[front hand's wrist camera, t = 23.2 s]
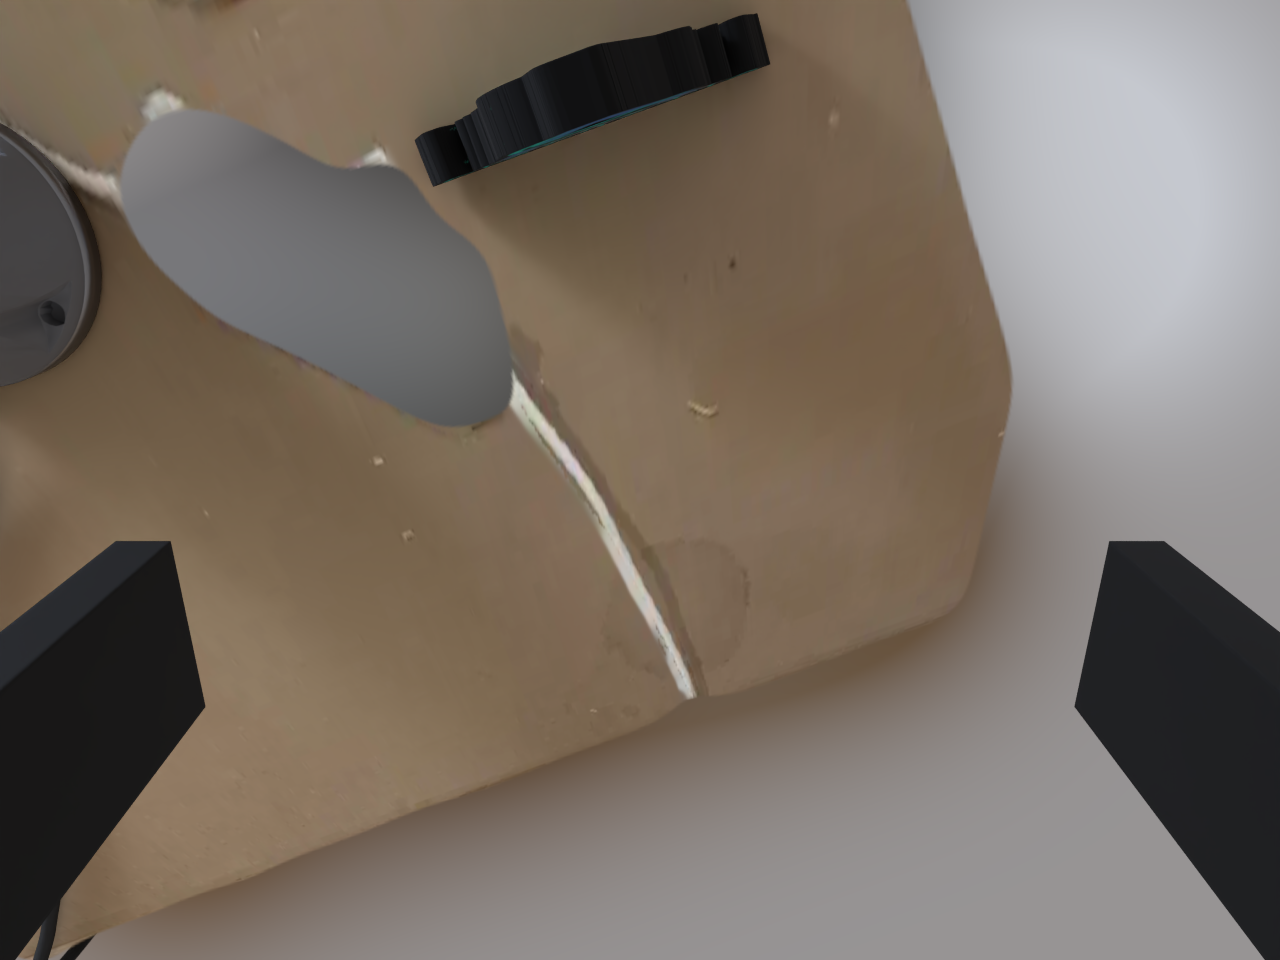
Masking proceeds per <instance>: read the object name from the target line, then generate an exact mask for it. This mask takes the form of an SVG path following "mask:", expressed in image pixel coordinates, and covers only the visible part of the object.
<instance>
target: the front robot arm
mask: <svg viewBox="0 0 1280 960" xmlns="http://www.w3.org/2000/svg"><path fill="white" fill-rule="evenodd" d="M101 279H102V276H101V262H100V256H99V250H98V246H97V242H96V238H95V235H94V232H93V229H92V227H91V224H90V221H89V219H88V217H87V215H86V212H85V210H84V208H83V206H82V205H81V203H80V201H79V199H78V197H77V196H76V194H75V193H74V191H73V190H72V188H71V187H70V185H69V184H68V182H67V181H66V180H65V178H64V177H63V176H62V175H61V173H60V172H59V171H58V170H57V168H56V167H55V166H54V165H53V164H52V163H51V162H50V161H49V160H48V159H47V158H46V157H45V156H44V155H43V154H42V153H41V152H40V151H39V150H38V149H37V148H36V147H34V146H33V145H32V144H31V143H29V142H28V141H27V140H26V139H24V138H23V137H22V136H20V135H19V134H17V133H16V132H14V131H13V130H11V129H10V128H8V127H6V126H4V125H3V124H1V123H0V386H6V385H10V384H14V383H17V382H20V381H23V380H25V379H28V378H30V377H33V376H35V375H38V374H40V373H43V372H45V371H47V370H49V369H51V368H53V367H55V366H56V365H58V364H59V363H61V362H62V361H64V360H65V359H66V358H67V357H68V356H69V355H71V354H72V353H73V352H74V351H75V350H76V348H77V347H78V346H79V345H80V344H81V342H82V341H83V340H84V338H85V337H86V335H87V333H88V332H89V330H90V328H91V326H92V324H93V321H94V318H95V316H96V313H97V309H98V305H99V301H100V294H101ZM204 708H205V702H204V697H203V692H202V688H201V683H200V678H199V674H198V669H197V664H196V659H195V655H194V650H193V645H192V640H191V636H190V631H189V626H188V621H187V617H186V612H185V607H184V602H183V598H182V593H181V588H180V583H179V579H178V574H177V569H176V564H175V560H174V555H173V550H172V545H171V541H116V542H114V543H113V544H112V545H110V546H109V547H108V548H107V549H105V550H104V551H103V552H102V553H100V554H99V555H98V556H96V557H95V558H94V559H93V560H91V561H90V562H89V563H88V564H86V565H85V566H84V567H82V568H81V569H80V570H79V571H77V572H76V573H75V574H74V575H72V576H71V577H70V578H69V579H67V580H66V581H65V582H63V583H62V584H61V585H60V586H58V587H57V588H56V589H55V590H53V591H52V592H51V593H49V594H48V595H47V596H46V597H44V598H43V599H42V600H41V601H39V602H38V603H37V604H35V605H34V606H33V607H32V608H30V609H29V610H28V611H27V612H25V613H24V614H23V615H22V616H20V617H19V618H18V619H16V620H15V621H14V622H13V623H11V624H10V625H9V626H8V627H6V628H5V629H4V630H2V631H1V632H0V960H15V959H16V958H17V957H18V955H19V954H20V953H21V951H22V950H23V949H24V947H25V946H26V945H27V943H28V942H29V941H30V939H31V938H32V937H33V935H34V934H35V933H36V931H37V930H38V929H39V927H40V926H41V925H42V926H41V933H40V937H39V941H38V945H37V948H36V952H35V955H34V958H33V960H48V958H49V955H50V951H51V948H52V945H53V941H54V937H55V931H56V925H57V918H58V912H59V906H60V900H61V898H62V897H63V896H64V894H65V893H66V892H67V890H68V889H69V888H70V886H71V885H72V884H73V882H74V881H75V880H76V878H77V877H78V876H79V874H80V873H81V872H82V870H83V869H84V868H85V866H86V865H87V864H88V862H89V861H90V860H91V858H92V857H93V856H94V854H95V853H96V852H97V850H98V849H99V848H100V846H101V845H102V844H103V842H104V841H105V840H106V838H107V837H108V836H109V834H110V833H111V832H112V830H113V829H114V828H115V826H116V825H117V824H118V822H119V821H120V820H121V818H122V817H123V816H124V814H125V813H126V812H127V810H128V809H129V808H130V806H131V805H132V804H133V802H134V801H135V800H136V798H137V797H138V796H139V794H140V793H141V792H142V790H143V789H144V788H145V786H146V785H147V784H148V782H149V781H150V780H151V778H152V777H153V776H154V774H155V773H156V772H157V770H158V769H159V768H160V766H161V765H162V764H163V763H164V761H165V760H166V759H167V757H168V756H169V755H170V753H171V752H172V751H173V749H174V748H175V747H176V745H177V744H178V743H179V741H180V740H181V739H182V737H183V736H184V735H185V733H186V732H187V731H188V729H189V728H190V727H191V725H192V724H193V723H194V721H195V720H196V719H197V717H198V716H199V715H200V713H201V712H202V711H203V709H204ZM1075 708H1076V709H1077V711H1078V712H1079V713H1080V715H1081V716H1082V717H1083V719H1084V720H1085V721H1086V723H1087V724H1088V725H1089V727H1090V728H1091V729H1092V731H1093V732H1094V733H1095V735H1096V736H1097V737H1098V739H1099V740H1100V741H1101V742H1102V744H1103V745H1104V747H1105V748H1106V749H1107V751H1108V752H1109V753H1110V755H1111V756H1112V757H1113V759H1114V760H1115V761H1116V762H1117V764H1118V765H1119V766H1120V768H1121V769H1122V770H1123V772H1124V773H1125V774H1126V776H1127V777H1128V778H1129V780H1130V781H1131V782H1132V784H1133V785H1134V786H1135V788H1136V789H1137V790H1138V792H1139V793H1140V794H1141V796H1142V797H1143V798H1144V800H1145V801H1146V802H1147V804H1148V805H1149V806H1150V808H1151V809H1152V810H1153V812H1154V813H1155V814H1156V816H1157V817H1158V818H1159V820H1160V821H1161V822H1162V824H1163V825H1164V826H1165V828H1166V829H1167V830H1168V832H1169V833H1170V834H1171V836H1172V837H1173V838H1174V840H1175V841H1176V842H1177V844H1178V845H1179V846H1180V848H1181V849H1182V850H1183V852H1184V853H1185V854H1186V856H1187V857H1188V858H1189V860H1190V861H1191V862H1192V864H1193V865H1194V866H1195V868H1196V869H1197V870H1198V872H1199V873H1200V874H1201V876H1202V877H1203V878H1204V880H1205V881H1206V882H1207V884H1208V885H1209V886H1210V887H1211V889H1212V890H1213V892H1214V893H1215V894H1216V896H1217V897H1218V898H1219V900H1220V901H1221V902H1222V904H1223V905H1224V906H1225V907H1226V909H1227V910H1228V911H1229V913H1230V914H1231V915H1232V917H1233V918H1234V919H1235V921H1236V922H1237V923H1238V925H1239V926H1240V927H1241V929H1242V930H1243V931H1244V933H1245V934H1246V935H1247V937H1248V938H1249V939H1250V941H1251V942H1252V943H1253V945H1254V946H1255V947H1256V949H1257V950H1258V951H1259V953H1260V954H1261V955H1262V957H1263V958H1264V959H1265V960H1280V632H1279V631H1278V630H1276V629H1275V628H1274V627H1272V626H1271V625H1270V624H1269V623H1267V622H1266V621H1265V620H1264V619H1262V618H1261V617H1260V616H1258V615H1257V614H1256V613H1255V612H1253V611H1252V610H1251V609H1250V608H1248V607H1247V606H1246V605H1244V604H1243V603H1242V602H1241V601H1239V600H1238V599H1237V598H1236V597H1234V596H1233V595H1232V594H1231V593H1229V592H1228V591H1227V590H1225V589H1224V588H1223V587H1222V586H1220V585H1219V584H1218V583H1217V582H1215V581H1214V580H1213V579H1211V578H1210V577H1209V576H1208V575H1206V574H1205V573H1204V572H1203V571H1201V570H1200V569H1199V568H1198V567H1196V566H1195V565H1194V564H1192V563H1191V562H1190V561H1189V560H1187V559H1186V558H1185V557H1183V556H1182V555H1181V554H1180V553H1178V552H1177V551H1176V550H1175V549H1173V548H1172V547H1171V546H1170V545H1168V544H1167V543H1166V542H1164V541H1109V545H1108V550H1107V555H1106V560H1105V564H1104V569H1103V574H1102V579H1101V583H1100V588H1099V593H1098V598H1097V603H1096V607H1095V612H1094V617H1093V622H1092V626H1091V631H1090V636H1089V640H1088V645H1087V650H1086V655H1085V659H1084V664H1083V669H1082V674H1081V678H1080V683H1079V688H1078V692H1077V697H1076V702H1075ZM95 935H96V934H95ZM95 935H93V936H91V937H89V938H87V939H84V940H82V941H81V942H79V943H77V944H75V945H73V946H72V947H70V948H69V949H68V951H67V952H66V953H65V954H64V955H63V956H62V958H61V959H60V960H76V958H77V957H78V956H79V955H80V954H81V952H82V951H83V950H84V949H85V947H86V946H87V945H88V944H89V943H90V941H91V940H92V939H93V938H94V936H95Z"/></svg>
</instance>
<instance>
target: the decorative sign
mask: <svg viewBox="0 0 1280 960" xmlns="http://www.w3.org/2000/svg"><path fill="white" fill-rule="evenodd" d="M769 64H770V61H769V57H768V53H767V49H766V46H765V42H764V38H763V34H762V30H761V26H760V22H759V18H758V15H757V14H748V15H741V16H738V17H735V18H732V19H730V20H727V21H725V22H723V23H721V24H719V25H718V23H715V24H712V25H709V26H706V27H703V28H701V29H698V30H696V29H695V30H692V28H691V27H690V26H687V27H682V28H678V29H674V30H671V31H667V32H664V33H661V34H657V35H653V36H647V37H641V38H634V39H628V40H621V41H615V42H608V43H601V44H597V45H593V46H590V47H587V48H585V49H582V50H579V51H577V52H574V53H571V54H569V55H566V56H563V57H561V58H558V59H555V60H553V61H550V62H547V63H545V64H542V65H540V66H537V67H535V68H533V69H532V70H530V71H529V72H528V73H526V74H525V75H523V76H522V77H520V78H518V79H515V80H513V81H510V82H508V83H506V84H503V85H501V86H499V87H497V88H495V89H493V90H491V91H489V92H487V93H485V94H484V95H482V96H481V97H479V98H478V99H477V100H476V104H477V107H478V108H477V109H476V110H475V111H473V112H471V114H469V115H467V116H465V117H463V119H460V120H458V121H456V122H455V124H452V125H448V126H443V127H439V128H436V129H433V130H430V131H428V132H425V133H423V134H421V135H420V136H419V137H418V138H417V139H416V140H415V143H416V145H417V148H418V150H419V153H420V155H421V158H422V160H423V163H424V165H425V168H426V170H427V173H428V175H429V178H430V180H431V183H432V185H433V187H434V186H437V185H439V184H442V183H445V182H448V181H450V180H453V179H456V178H458V177H461V176H464V175H467V174H470V173H472V172H475V171H478V170H481V169H483V168H486V167H489V166H492V165H494V164H497V163H500V162H503V161H505V160H508V159H511V158H514V157H516V156H519V155H522V154H525V153H528V152H530V151H533V150H536V149H539V148H541V147H544V146H547V145H550V144H552V143H555V142H557V141H560V140H563V139H566V138H569V137H572V136H574V135H577V134H580V133H582V132H585V131H588V130H591V129H594V128H596V127H599V126H602V125H605V124H607V123H610V122H613V121H616V120H618V119H621V118H624V117H627V116H629V115H632V114H634V113H638V112H640V111H643V110H646V109H649V108H651V107H654V106H657V105H660V104H662V103H665V102H668V101H671V100H674V99H676V98H679V97H682V96H684V95H687V94H690V93H693V92H696V91H698V90H701V89H704V88H707V87H709V86H712V85H715V84H718V83H720V82H723V81H726V80H729V79H731V78H734V77H737V76H739V75H742V74H745V73H748V72H751V71H753V70H756V69H759V68H762V67H764V66H767V65H769Z"/></svg>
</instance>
